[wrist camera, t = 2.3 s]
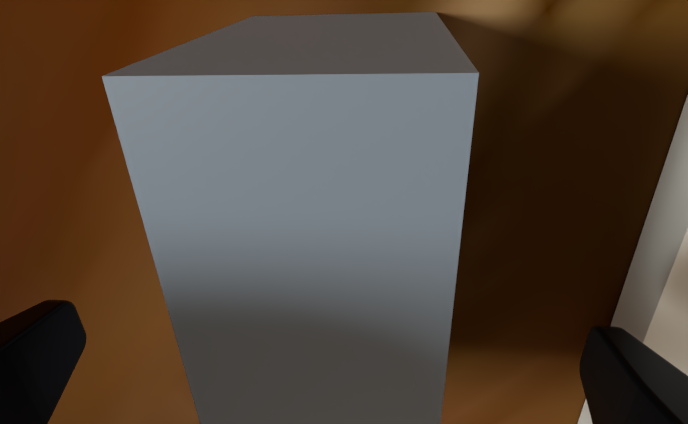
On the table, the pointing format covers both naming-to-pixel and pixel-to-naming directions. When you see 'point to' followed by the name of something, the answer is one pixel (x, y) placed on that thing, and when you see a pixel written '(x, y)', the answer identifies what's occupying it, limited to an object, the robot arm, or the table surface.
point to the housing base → (661, 266)
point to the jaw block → (305, 211)
